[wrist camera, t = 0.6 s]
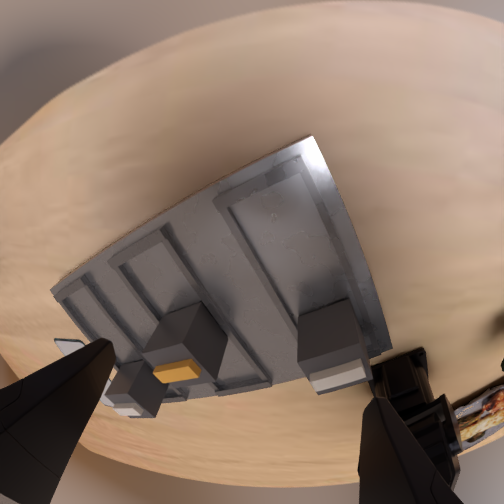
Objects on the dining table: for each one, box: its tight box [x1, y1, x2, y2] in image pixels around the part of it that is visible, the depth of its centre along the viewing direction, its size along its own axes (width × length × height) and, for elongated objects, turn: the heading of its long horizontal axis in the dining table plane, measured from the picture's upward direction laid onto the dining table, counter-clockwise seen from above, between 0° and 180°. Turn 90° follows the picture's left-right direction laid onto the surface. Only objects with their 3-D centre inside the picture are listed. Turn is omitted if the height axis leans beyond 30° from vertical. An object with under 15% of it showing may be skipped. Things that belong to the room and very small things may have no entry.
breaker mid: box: [141, 302, 228, 388], centre depth 20 cm, size 4×4×5 cm
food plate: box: [454, 385, 504, 451], centre depth 28 cm, size 25×23×4 cm
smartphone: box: [54, 338, 114, 407], centre depth 34 cm, size 7×1×15 cm
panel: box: [50, 135, 393, 403], centre depth 23 cm, size 18×28×3 cm, turn 119°
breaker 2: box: [297, 299, 373, 395], centre depth 18 cm, size 4×4×5 cm
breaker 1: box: [104, 360, 169, 418], centre depth 24 cm, size 4×4×5 cm
